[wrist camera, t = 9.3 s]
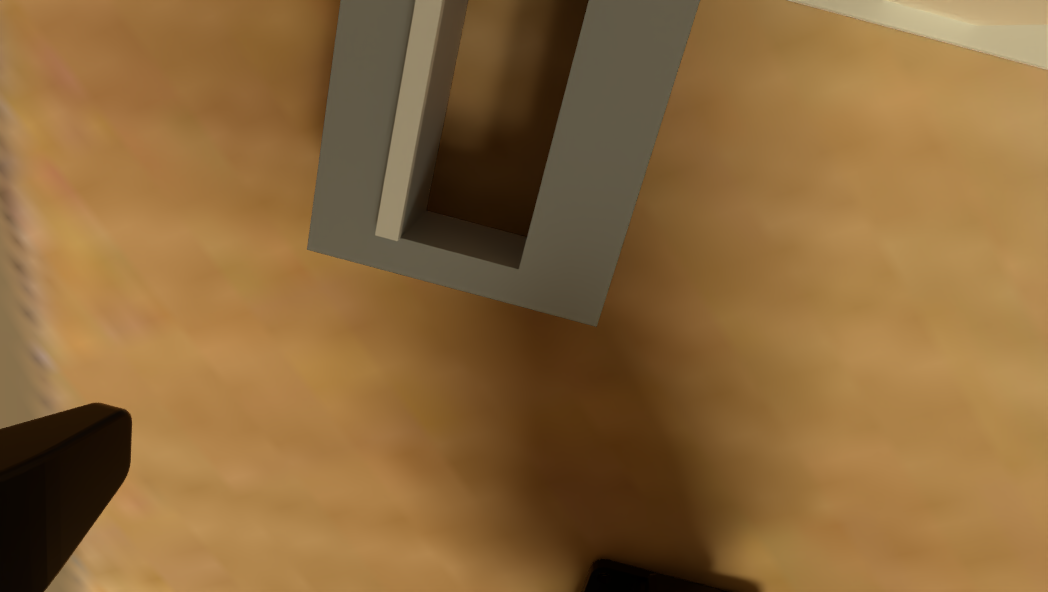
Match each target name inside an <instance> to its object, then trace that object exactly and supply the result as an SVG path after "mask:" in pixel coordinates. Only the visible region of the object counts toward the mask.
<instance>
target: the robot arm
mask: <svg viewBox="0 0 1048 592" xmlns="http://www.w3.org/2000/svg"><path fill="white" fill-rule="evenodd" d="M131 436H132V418H131V415H130V413H129V412H128V411H127V410H125V409H122V408H118V407H114V406H111V405H107V404H103V403H91V404H88V405H84V406H80V407H77V408H73V409H70V410H66V411H63V412H59V413H56V414H52V415H49V416H45V417H41V418H38V419H34V420H31V421H27V422H24V423H20V424H17V425H13V426H10V427H6V428H2V429H0V592H44V591H45V590H46V589H47V587H48V586H49V585H50V584H51V582H52V581H53V580H54V578H55V577H56V576H57V574H58V573H59V572H60V570H61V569H62V568H63V566H64V565H65V563H66V562H67V561H68V559H69V558H70V556H71V555H72V554H73V552H74V551H75V549H76V548H77V547H78V545H79V544H80V542H81V541H82V540H83V538H84V537H85V535H86V534H87V533H88V531H89V530H90V528H91V527H92V526H93V524H94V523H95V521H96V520H97V519H98V517H99V516H100V514H101V513H102V512H103V510H104V509H105V507H106V506H107V505H108V503H109V502H110V500H111V499H112V498H113V496H114V495H115V493H116V492H117V491H118V489H119V488H120V486H121V485H122V483H123V482H124V480H125V478H126V476H127V474H128V471H129V468H130V462H131ZM600 573H608V574H609V575H606V576H602V575H600ZM581 592H728V591H724V590H720V589H717V588H713V587H709V586H705V585H702V584H698V583H694V582H690V581H687V580H683V579H679V578H675V577H671V576H668V575H664V574H660V573H656V572H653V571H649V570H645V569H641V568H638V567H634V566H630V565H626V564H623V563H619V562H615V561H611V560H607V559H600V560H597V561H595V562H593V564H592V565H591V567H590V569H589V572H588V575H587V578H586V580H585V583H584V586H583V588H582V591H581Z"/></svg>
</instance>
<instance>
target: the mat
mask: <svg viewBox="0 0 1048 592" xmlns="http://www.w3.org/2000/svg"><path fill="white" fill-rule="evenodd" d="M788 1H792V2H796V3H799V4H803V5H807V6H811V7H814V8H818V9H822V10H825V11H829V12H833V13H837V14H840V15H844V16H848V17H852V18H855V19H859V20H863V21H867V22H870V23H874V24H878V25H881V26H885V27H889V28H893V29H896V30H900V31H904V32H908V33H911V34H915V35H919V36H923V37H926V38H930V39H934V40H937V41H941V42H945V43H949V44H952V45H956V46H960V47H964V48H967V49H971V50H975V51H978V52H982V53H986V54H990V55H993V56H997V57H1001V58H1005V59H1008V60H1012V61H1016V62H1020V63H1023V64H1027V65H1031V66H1034V67H1038V68H1042V69H1046V70H1048V25H987V26H976V25H972V24H968V23H965V22H961V21H957V20H954V19H950V18H947V17H943V16H939V15H936V14H932V13H929V12H925V11H921V10H918V9H914V8H910V7H907V6H903V5H900V4H896V3H892V2H889V1H885V0H788Z"/></svg>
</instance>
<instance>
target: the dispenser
mask: <svg viewBox="0 0 1048 592" xmlns="http://www.w3.org/2000/svg"><path fill="white" fill-rule="evenodd" d="M699 2H700V0H589V2H588V5H587V9H586V13H585V17H584V21H583V25H582V28H581V32H580V36H579V40H578V44H577V48H576V51H575V55H574V59H573V63H572V67H571V71H570V75H569V78H568V82H567V86H566V90H565V94H564V98H563V101H562V105H561V109H560V113H559V117H558V121H557V124H556V128H555V132H554V136H553V140H552V144H551V147H550V151H549V155H548V159H547V163H546V167H545V170H544V174H543V178H542V182H541V186H540V190H539V194H538V197H537V201H536V205H535V209H534V213H533V217H532V220H531V224H530V228H529V232H528V236H527V237H524V236H521V235H517V234H513V233H509V232H506V231H502V230H498V229H494V228H491V227H487V226H483V225H479V224H476V223H472V222H468V221H465V220H461V219H457V218H453V217H450V216H446V215H442V214H438V213H435V212H431V211H427V210H426V209H427V204H428V199H429V194H430V189H431V184H432V179H433V174H434V169H435V164H436V159H437V154H438V149H439V144H440V139H441V134H442V129H443V124H444V119H445V114H446V109H447V104H448V99H449V94H450V89H451V84H452V79H453V74H454V69H455V64H456V59H457V54H458V49H459V44H460V39H461V34H462V29H463V24H464V19H465V14H466V9H467V4H468V0H341V1H340V9H339V16H338V24H337V31H336V38H335V46H334V53H333V61H332V68H331V76H330V83H329V90H328V98H327V105H326V113H325V120H324V128H323V135H322V142H321V150H320V157H319V165H318V172H317V180H316V187H315V194H314V202H313V209H312V217H311V224H310V232H309V239H308V246H307V250H310V251H314V252H318V253H322V254H325V255H329V256H333V257H337V258H340V259H344V260H348V261H352V262H355V263H359V264H363V265H367V266H370V267H374V268H378V269H382V270H385V271H389V272H393V273H397V274H400V275H404V276H408V277H412V278H415V279H419V280H423V281H427V282H430V283H434V284H438V285H442V286H445V287H449V288H453V289H457V290H460V291H464V292H468V293H472V294H475V295H479V296H483V297H487V298H490V299H494V300H498V301H502V302H505V303H509V304H513V305H517V306H520V307H524V308H528V309H532V310H535V311H539V312H543V313H547V314H550V315H554V316H558V317H562V318H565V319H569V320H573V321H577V322H580V323H584V324H588V325H592V326H595V327H597V324H598V321H599V318H600V315H601V311H602V308H603V305H604V302H605V299H606V296H607V292H608V289H609V286H610V283H611V280H612V277H613V274H614V270H615V267H616V264H617V261H618V258H619V255H620V251H621V248H622V245H623V242H624V239H625V236H626V233H627V229H628V226H629V223H630V220H631V217H632V214H633V210H634V207H635V204H636V201H637V198H638V195H639V191H640V188H641V185H642V182H643V179H644V176H645V173H646V169H647V166H648V163H649V160H650V157H651V154H652V150H653V147H654V144H655V141H656V138H657V135H658V132H659V128H660V125H661V122H662V119H663V116H664V113H665V109H666V106H667V103H668V100H669V97H670V94H671V90H672V87H673V84H674V81H675V78H676V75H677V72H678V68H679V65H680V62H681V59H682V56H683V53H684V49H685V46H686V43H687V40H688V37H689V34H690V31H691V27H692V24H693V21H694V18H695V15H696V12H697V8H698V5H699Z"/></svg>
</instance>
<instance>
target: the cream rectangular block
mask: <svg viewBox="0 0 1048 592" xmlns="http://www.w3.org/2000/svg"><path fill="white" fill-rule="evenodd" d="M885 1H889V2H892V3H896V4H900V5H903V6H907V7H910V8H914V9H918V10H921V11H925V12H929V13H932V14H936V15H939V16H943V17H947V18H950V19H954V20H957V21H961V22H965V23H968V24H972V25H976V26H987V25H1048V0H885Z"/></svg>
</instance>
